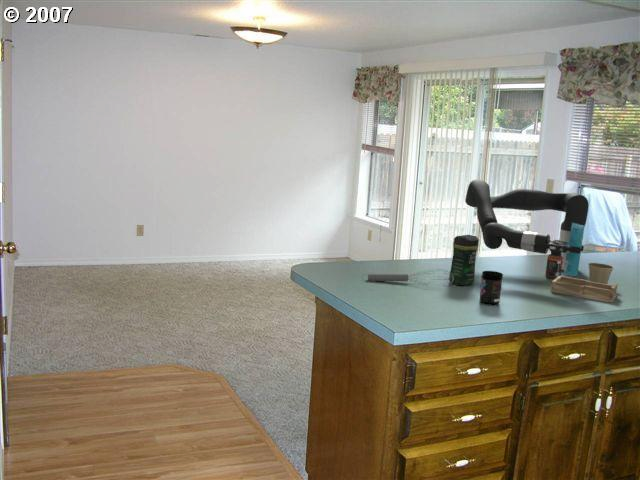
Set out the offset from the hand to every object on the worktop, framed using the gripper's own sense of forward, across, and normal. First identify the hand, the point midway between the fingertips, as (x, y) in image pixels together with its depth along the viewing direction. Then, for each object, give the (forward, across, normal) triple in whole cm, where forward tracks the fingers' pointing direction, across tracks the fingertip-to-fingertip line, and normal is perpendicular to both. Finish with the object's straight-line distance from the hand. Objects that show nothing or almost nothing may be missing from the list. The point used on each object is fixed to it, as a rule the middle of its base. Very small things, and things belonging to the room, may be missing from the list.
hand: (581, 249), depth 244 cm
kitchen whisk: (-52, +34, -18) cm, 65 cm away
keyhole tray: (+2, 0, -16) cm, 16 cm away
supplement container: (-21, +40, -17) cm, 48 cm away
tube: (-3, 0, -10) cm, 11 cm away
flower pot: (+5, -17, -16) cm, 24 cm away
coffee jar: (-38, +19, -17) cm, 45 cm away
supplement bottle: (-13, -21, -17) cm, 30 cm away
